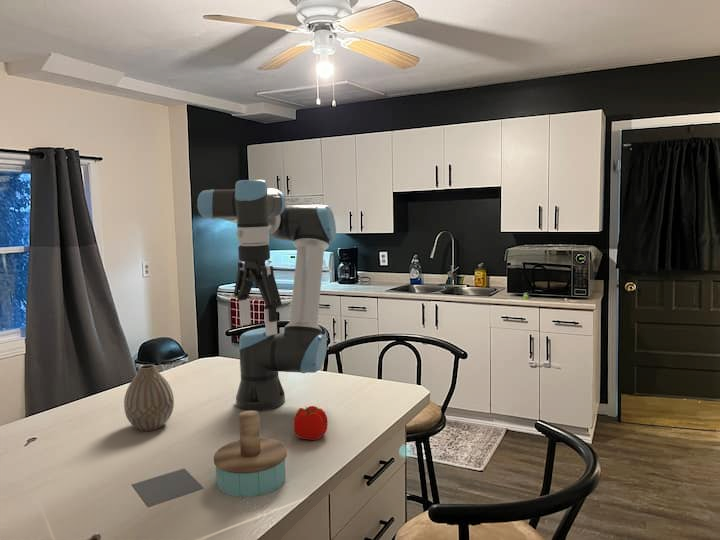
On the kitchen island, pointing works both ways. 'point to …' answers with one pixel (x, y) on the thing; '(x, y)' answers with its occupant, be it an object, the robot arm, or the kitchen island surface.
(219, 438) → the kitchen island surface
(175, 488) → the mat
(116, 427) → the kitchen island surface
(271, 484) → the bowl
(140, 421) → the vase
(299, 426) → the tomato
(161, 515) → the kitchen island surface
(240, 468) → the lid
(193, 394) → the kitchen island surface
